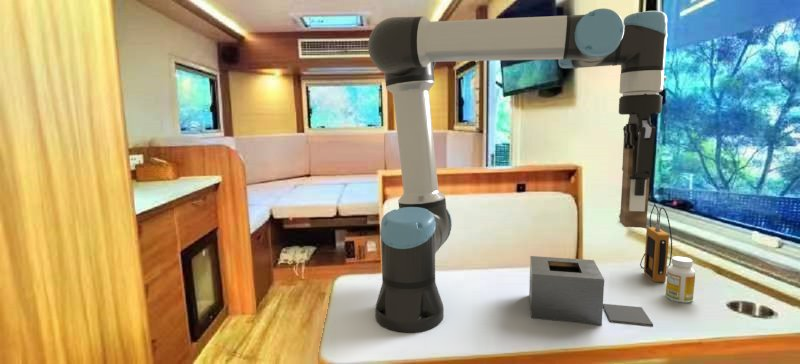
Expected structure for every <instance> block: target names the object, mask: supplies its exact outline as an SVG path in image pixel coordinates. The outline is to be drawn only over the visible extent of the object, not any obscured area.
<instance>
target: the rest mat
mask: <svg viewBox="0 0 800 364" xmlns="http://www.w3.org/2000/svg"><path fill="white" fill-rule="evenodd" d="M603 310H604V312H605V313H606V316H607V318H608V320H609V322H611V323H618V324H627V325H628V324H629V325H638V326H639V325H640V326H646V327H647V326H648V327H649V326H650V327H654V324H653V321H652V320H651V319H650V317H649V316H648V314H647V313H646V311H645V310H644V309H643V307H642V306H632V305H622V304H621V305H620V304H612V303H609V304H608V303H603Z"/></svg>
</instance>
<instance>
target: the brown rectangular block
mask: <svg viewBox="0 0 800 364" xmlns="http://www.w3.org/2000/svg"><path fill="white" fill-rule="evenodd" d="M622 166H623V170H622V178H621V179H622V180H621V181H622V182H621V195H620V196H621V197H620V198H621V199H620V211H619V212H620V213H619V214H620V215H619V223H620V224H621V225H622V226H623V227H625V228H641V229H643V228H644V229H647V224H648V223H647V221H648V220H647V219H648V207H649V194H650V178H651V177H650V178H648V179H647V184H646V199H645V211H629V199H630V183H631V179H629V176H633V148H624V160H623V159H622Z"/></svg>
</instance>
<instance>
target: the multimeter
mask: <svg viewBox="0 0 800 364" xmlns="http://www.w3.org/2000/svg"><path fill="white" fill-rule="evenodd" d="M655 208H656V211H657V213H656V215H657V218H656V222H655V223H656V224H655V226H654V227H652V223H651V221H652V220H651V219H652V214H653V211H654V209H655ZM662 209H663V211H664V213H665V216H666V218H667V223H668V227H669V233H668V232H666V231H664V230H662V229H661V225H660V224H661V210H662ZM645 235H646V236H645V247H644V248H645V249H644V250H645V251H644V254H643V256H642V258H641V260H640V264H639V266H640V268H641V269H643V273H644V274H645V275H646V276H647V277H649V278H650V279H651V281H652V282H653V283H665V282H667V269H668V267H669V266H671V265H672V254H673V237H672V228H671V225H670V219H669V215H668V213H667V211H666V209H665V208H664V207H660V208H658V207H657V205H656V203H654V204H653V207H652V209H651V211H650V216H649V226H648V227H647V226H646V234H645ZM669 239H670V240H669ZM669 243H670V255H669V264H668V254H669V252H668V251H669ZM643 260H644V263H643ZM642 263H643V266H642ZM667 266H668V267H667Z"/></svg>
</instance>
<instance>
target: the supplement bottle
mask: <svg viewBox="0 0 800 364" xmlns="http://www.w3.org/2000/svg"><path fill="white" fill-rule="evenodd" d="M693 264H694V263H693V259H691V258H689V257H687V256H686V257H684V256H681V255H680V256H679V255H678V256H677V255H676V256H673V257H671V264H670V266H669V265H668V267H667V270H666V275H667V276H666V285H665V287H666V288H665V296H666V297H667V299H669V300H672V301H673V302H677V303H687V304H688V303H691V302H693V300H694V292H695V291H694V290H695V284H696V283H695V282H696V281H695V280H696V271H695V269H694V268H692V267H693Z"/></svg>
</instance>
